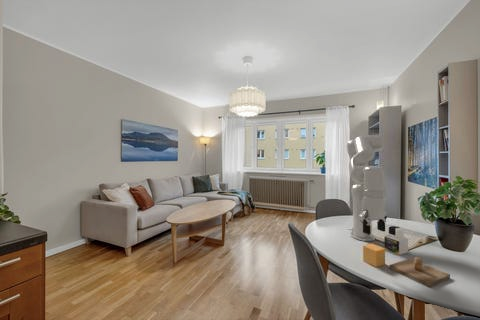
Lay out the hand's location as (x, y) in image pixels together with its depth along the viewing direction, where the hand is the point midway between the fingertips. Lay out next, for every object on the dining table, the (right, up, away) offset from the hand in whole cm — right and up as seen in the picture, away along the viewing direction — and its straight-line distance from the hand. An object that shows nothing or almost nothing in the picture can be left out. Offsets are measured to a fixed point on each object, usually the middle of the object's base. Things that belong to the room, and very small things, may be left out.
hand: (374, 232), depth 93 cm
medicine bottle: (+19, -14, +12) cm, 26 cm away
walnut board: (+13, -14, -8) cm, 21 cm away
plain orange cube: (0, -14, +1) cm, 14 cm away
